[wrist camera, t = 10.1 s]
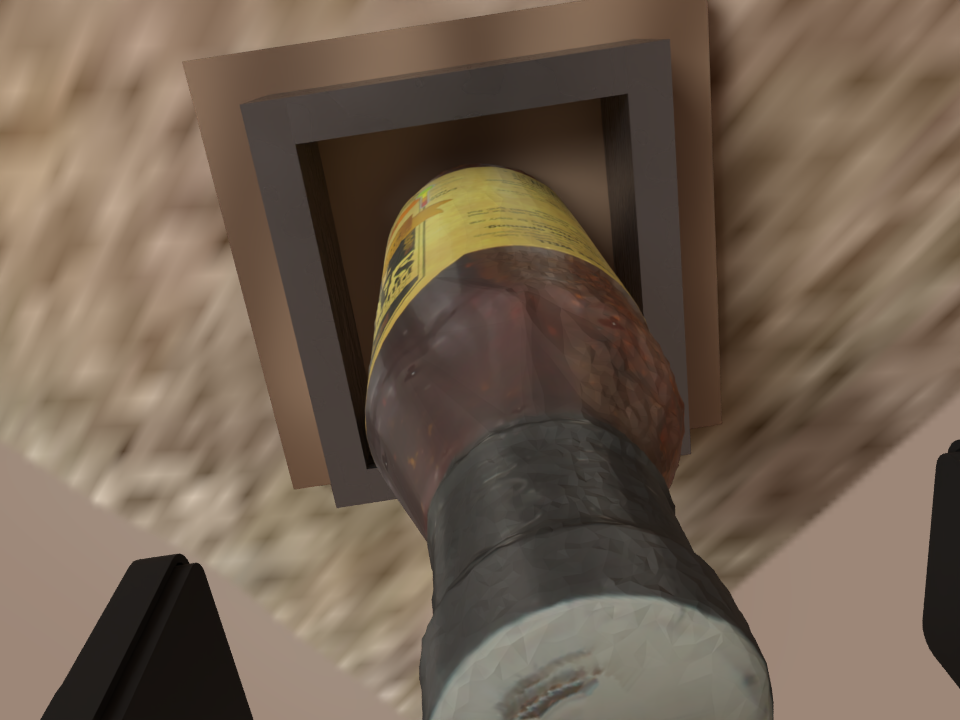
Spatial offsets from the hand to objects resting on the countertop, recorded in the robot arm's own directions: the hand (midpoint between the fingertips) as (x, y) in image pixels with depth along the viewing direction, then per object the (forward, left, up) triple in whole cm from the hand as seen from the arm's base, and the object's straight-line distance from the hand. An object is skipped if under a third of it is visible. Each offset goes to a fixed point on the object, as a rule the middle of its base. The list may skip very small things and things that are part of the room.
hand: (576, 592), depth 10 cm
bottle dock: (0, 0, -20) cm, 20 cm away
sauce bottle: (0, 0, -18) cm, 18 cm away
